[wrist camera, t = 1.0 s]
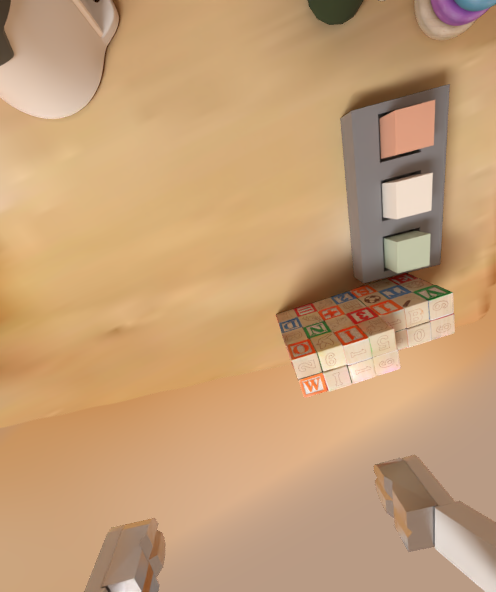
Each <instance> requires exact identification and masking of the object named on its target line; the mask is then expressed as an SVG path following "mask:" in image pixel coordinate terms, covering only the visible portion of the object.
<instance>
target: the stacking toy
mask: <svg viewBox="0 0 496 592" xmlns="http://www.w3.org/2000/svg"><path fill="white" fill-rule="evenodd" d="M495 4H496V0H414V9H415V16H416V19H417V22H418V25H419V27H420V28H421V30H422V31H423V32H424V33H425V34H426V35H427V36H428V37H430V38H432V39H435V40H448V39H452V38H454V37H457V36H458V35H460V34H462V33H463V32H465V31H466V30H467V29H468V28H469V27H470V26H471V25H472V24H473V23H474V22H475V21H476V20H477V19H478V18H479V17H480V16H482V15H483V14H484V13H485V12H486V11H487V10H488V9H489V8H490V7H492V6H493V5H495Z"/></svg>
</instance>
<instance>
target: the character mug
mask: <svg viewBox="0 0 496 592" xmlns="http://www.w3.org/2000/svg"><path fill="white" fill-rule="evenodd" d="M378 1H380V2H383V1H385V0H378ZM362 2H363V0H308V3H309V7H310V9H311V10H312V12H313V13H314V15H315V16H316V18H317V19H319V20H321V21H323V22H325V23H327V24H329V25H334V24H343V23H344V22H346V21H348V20H349V19H351V18H352V17H354V15H355V13H356V12H357V10H358V8H359V7H360V5H361V4H362Z"/></svg>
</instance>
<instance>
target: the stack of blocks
mask: <svg viewBox="0 0 496 592" xmlns="http://www.w3.org/2000/svg"><path fill="white" fill-rule="evenodd" d="M453 312H454V308H453V293H452V292H451V291H448V290H446V289H444V288H442V287H439V286H437V285H433V284H431V283H428V282H426V281H424V280H422V279H420V278H419V279H418V278H416V277H414V276H412V275H410V274H408V273H403V274H400V275H398V276H395V277H392V278H389V279H384V280H381V281H378V282H375V283H372V284H369V285H365V286H362V287H359V288H356V289H353V290H350V291H348V292H345V293H342V294H339V295H336V296H333V297H331V298H327V299H324V300H321V301H318V302H315V303H310V304H307V305H304V306H301V307H298V308H295V309H291V310H288V311H285V312H282V313H279V314H276V317H277V320H278V323H279V326H280V329H281V332H282V336H283V339H284V342H285V345H286V348H287V350H288V353H289V356H290V360H291V363H292V365H293V368H294V371H295V374H296V376H297V379H298V381H299V384H300V386H301V390H302V392H303V395H304V397H309V396H312V395H315V394H319V393H322V392H326V391H327V390H328V391H332V390H336V389H339V388H342V387H345V386H349V385H351V384H352V383H358V382H361V381H364V380H367V379H370V378H373V377H375V376H378V375H382V374H385V373H388V372H391V371H394V370H397V369H400V368H401V367H400V361H399V355H398V350H401V349H404V348H407V347H412V346H415V345H419V344H422V343H425V342H428V341H431V340H432V339H436V338H440V337H443V336H446V335H450V334H453V333H454V331H455V328H454V314H453Z"/></svg>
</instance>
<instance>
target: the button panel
mask: <svg viewBox="0 0 496 592" xmlns="http://www.w3.org/2000/svg"><path fill="white" fill-rule="evenodd" d="M449 87H450V84H448V85H445V86H441V87H437V88H434V89H430V90H426V91H423V92H419V93H415V94H412V95H408V96H404V97H401V98H397V99H393V100H390V101H386V102H382V103H378V104H375V105H371V106H367V107H364V108H360V109H356V110H353V111H350V112H349V113H348V114H346V115H345V116H343V117H342V118H340V120H341V131H342V143H343V155H344V166H345V178H346V190H347V201H348V213H349V225H350V236H351V248H352V260H353V271H354V277H355V278H356V279H358V280H359V281H361V282H362V283H367V282H371V281H375V280H379V279H383V278H387V277H391V276H395V275H399V274H403V273H407V272H411V271H415V270H419V269H423V268H427V267H431V266H435V265H440V259H441V240H442V221H443V201H444V182H445V163H446V144H447V125H448V106H449ZM432 100H435V123H434V145H432V146H429V147H425V148H421V149H417V150H414V151H410V152H406V153H402V154H398V155H395V156H390V157H386V158H382V159H381V151H380V123H379V119H380V118H382V117H383V116H385V115H387V114H389V113H391V112H393V111H395V110H399V109H402V108H406V107H410V106H413V105H417V104H421V103H425V102H428V101H432ZM426 173H433V179H432V207H431V211H428V212H424V213H420V214H416V215H412V216H408V217H404V218H400V219H390V218H384V217H383V207H382V183H385V182H389V181H393V180H397V179H401V178H404V177H408V176H412V175H417V174H426ZM410 231H419V232H425V233H430V234H431V236H430V264H429V266H425V267H421V268H417V269H413V270H409V271H405V272H401V273H396V272H394V271H391V270H389V269H387V268H385V263H384V238H387V237H391V236H395V235H399V234H403V233H406V232H410Z"/></svg>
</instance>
